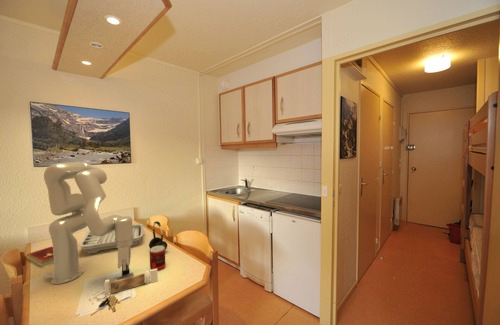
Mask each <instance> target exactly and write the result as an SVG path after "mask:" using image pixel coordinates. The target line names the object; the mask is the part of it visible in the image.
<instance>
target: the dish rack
mask: <svg viewBox="0 0 500 325" xmlns="http://www.w3.org/2000/svg"><path fill="white" fill-rule="evenodd" d="M132 229H133V244H132V245H131V247H133V246H136V245H137V244H138V243H141V242H142V241H141V240H142V237H143V236H144V224H142V223H134V224H133V223H132ZM77 245H78V247H79V248H81V251H82V252H83V253H88V254H89V255H90V254H97V253H98V252H99V251H104V250H110V249H114V248H116V242H115V230H114V231H112V232H110V233H108V234H106V235H103V236H95V235H93V234H92V233H91V231H90V230H89V231H87V232H86V233H85V234H84V236H83V237H82V238H81V240H80V241H79V243H77Z"/></svg>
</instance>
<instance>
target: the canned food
mask: <svg viewBox="0 0 500 325" xmlns="http://www.w3.org/2000/svg"><path fill="white" fill-rule="evenodd" d="M149 268H150V270H152V269H157V272H159V271H162V270H164V269H165V268H166V250H165V247H164V246H155V247H152V248H151V249H150V248H149Z"/></svg>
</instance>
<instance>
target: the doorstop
mask: <svg viewBox="0 0 500 325" xmlns="http://www.w3.org/2000/svg"><path fill="white" fill-rule="evenodd" d="M132 276H135V274H134V272H130V274H126V275H123V276H122V275H120V276H118V277H116V280H120V279H124V278H128V277H132Z"/></svg>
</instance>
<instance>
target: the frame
mask: <svg viewBox="0 0 500 325" xmlns="http://www.w3.org/2000/svg"><path fill="white" fill-rule="evenodd" d="M144 273H145V285H149V284H152V283H157V282H158V279H159V278H158V271H157V269H152V270H151V269H150V270H149V269H147V270H145V271H144ZM110 283H111V279H110V278H108V279H105V281H104V290H105V291H104V292H105V296H107V295H110V294H111V287H110ZM109 293H110V294H109ZM106 294H107V295H106Z"/></svg>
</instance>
